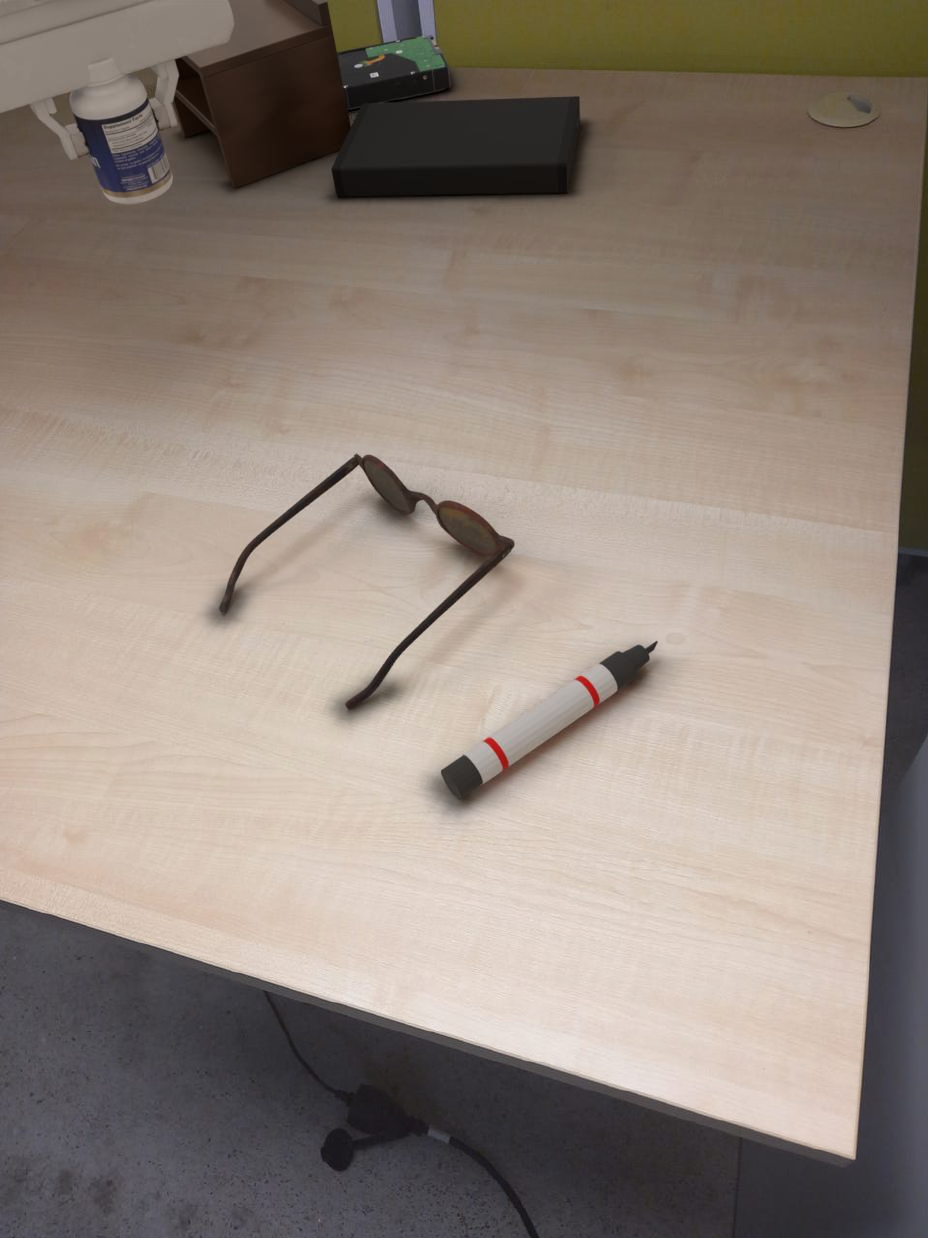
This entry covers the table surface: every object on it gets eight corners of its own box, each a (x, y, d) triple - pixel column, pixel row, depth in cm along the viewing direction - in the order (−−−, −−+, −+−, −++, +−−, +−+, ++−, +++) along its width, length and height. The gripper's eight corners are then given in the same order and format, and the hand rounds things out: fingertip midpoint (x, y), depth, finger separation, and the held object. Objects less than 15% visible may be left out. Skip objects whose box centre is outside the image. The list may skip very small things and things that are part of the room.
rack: (234, 188, 106) (193, 44, 96) (182, 134, 116) (139, -2, 105) (354, 144, 110) (327, 1, 99) (294, 95, 119) (263, -40, 109)
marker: (463, 805, 57) (459, 787, 56) (442, 781, 58) (438, 763, 57) (667, 663, 62) (668, 643, 60) (644, 644, 63) (645, 623, 61)
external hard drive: (367, 130, 111) (362, 102, 109) (580, 124, 107) (580, 94, 105) (337, 197, 103) (331, 168, 100) (568, 193, 99) (567, 163, 96)
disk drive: (325, 118, 115) (453, 89, 116) (320, 92, 113) (450, 63, 114) (313, 81, 122) (434, 54, 122) (308, 56, 119) (431, 29, 120)
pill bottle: (96, 184, 79) (45, 49, 71) (163, 163, 80) (120, 29, 73) (114, 214, 76) (62, 76, 68) (183, 191, 77) (140, 54, 69)
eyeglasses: (517, 572, 68) (512, 518, 64) (359, 719, 62) (344, 670, 58) (364, 484, 75) (351, 431, 71) (208, 608, 69) (185, 557, 65)
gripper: (183, -129, 69) (236, 83, 80) (-124, -50, 64) (-23, 167, 74) (217, -109, 65) (268, 112, 76) (-106, -22, 60) (-3, 202, 71)
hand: (122, 140), depth 75 cm, fingers closed on pill bottle, 5 cm apart
